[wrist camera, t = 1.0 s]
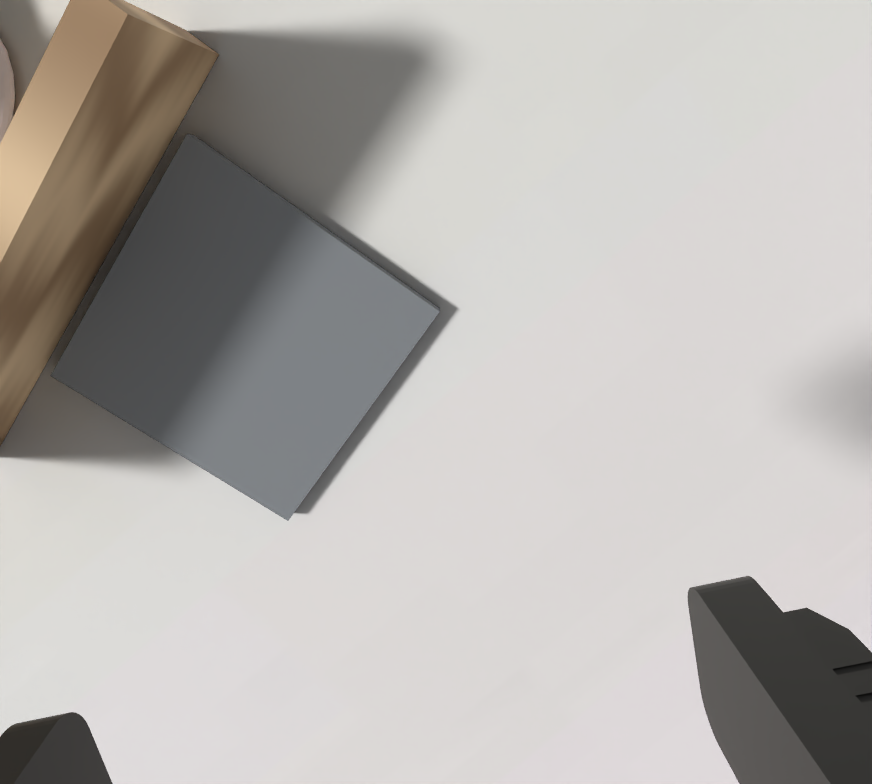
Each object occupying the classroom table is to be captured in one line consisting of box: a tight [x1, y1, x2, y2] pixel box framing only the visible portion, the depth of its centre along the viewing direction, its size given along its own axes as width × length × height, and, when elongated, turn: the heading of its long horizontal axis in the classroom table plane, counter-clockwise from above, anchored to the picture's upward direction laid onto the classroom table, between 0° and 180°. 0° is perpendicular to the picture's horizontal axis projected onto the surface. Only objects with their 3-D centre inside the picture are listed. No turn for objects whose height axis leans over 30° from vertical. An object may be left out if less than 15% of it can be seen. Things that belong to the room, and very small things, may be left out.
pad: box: [51, 134, 440, 521], centre depth 26 cm, size 10×10×1 cm
